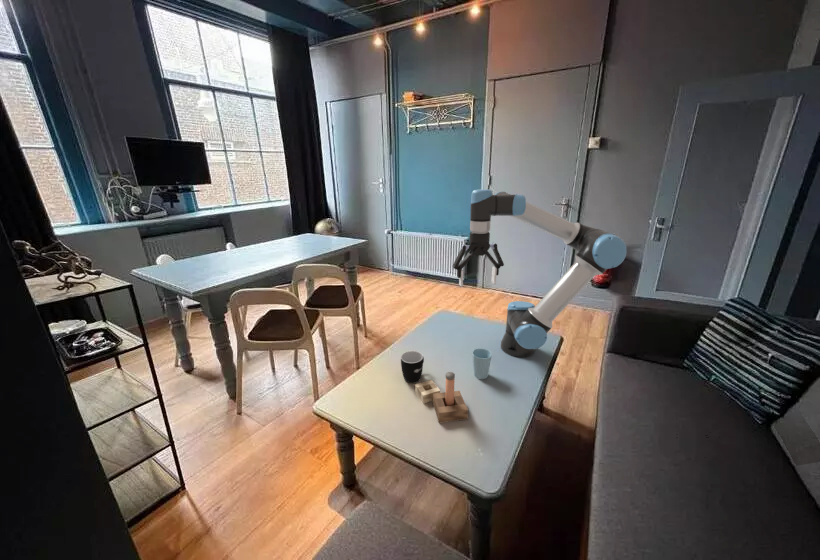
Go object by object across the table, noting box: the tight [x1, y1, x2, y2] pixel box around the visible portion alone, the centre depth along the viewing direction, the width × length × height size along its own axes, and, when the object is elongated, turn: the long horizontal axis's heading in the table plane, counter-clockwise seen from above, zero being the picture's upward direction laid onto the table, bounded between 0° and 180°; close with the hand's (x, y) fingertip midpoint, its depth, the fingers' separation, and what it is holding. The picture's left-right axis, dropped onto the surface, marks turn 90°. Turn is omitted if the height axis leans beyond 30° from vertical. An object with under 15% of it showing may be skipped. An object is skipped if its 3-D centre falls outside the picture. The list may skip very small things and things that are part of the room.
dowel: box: [444, 371, 456, 406], centre depth 112 cm, size 3×3×15 cm
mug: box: [400, 350, 425, 384], centre depth 133 cm, size 12×9×10 cm
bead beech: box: [414, 379, 441, 404], centre depth 122 cm, size 7×7×4 cm
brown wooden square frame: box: [432, 390, 469, 423], centre depth 114 cm, size 10×10×4 cm
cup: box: [471, 347, 493, 380], centre depth 132 cm, size 8×8×10 cm
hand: (477, 284), depth 131 cm, fingers open, 13 cm apart
